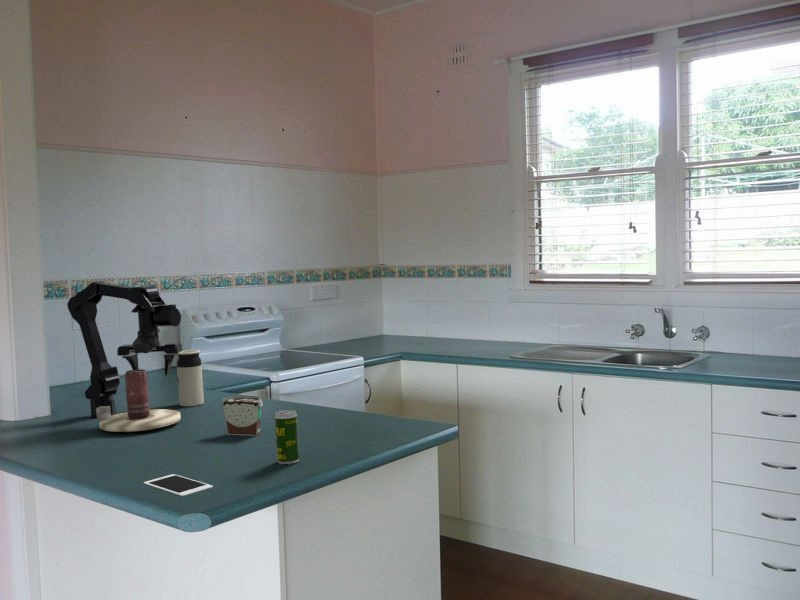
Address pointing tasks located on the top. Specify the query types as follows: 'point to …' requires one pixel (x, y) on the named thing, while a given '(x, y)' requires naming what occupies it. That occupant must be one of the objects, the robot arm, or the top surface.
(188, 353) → the travel mug
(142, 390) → the can
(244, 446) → the top surface
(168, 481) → the cell phone
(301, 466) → the top surface
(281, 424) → the beer can
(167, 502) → the top surface
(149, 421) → the turntable
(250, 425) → the food container
